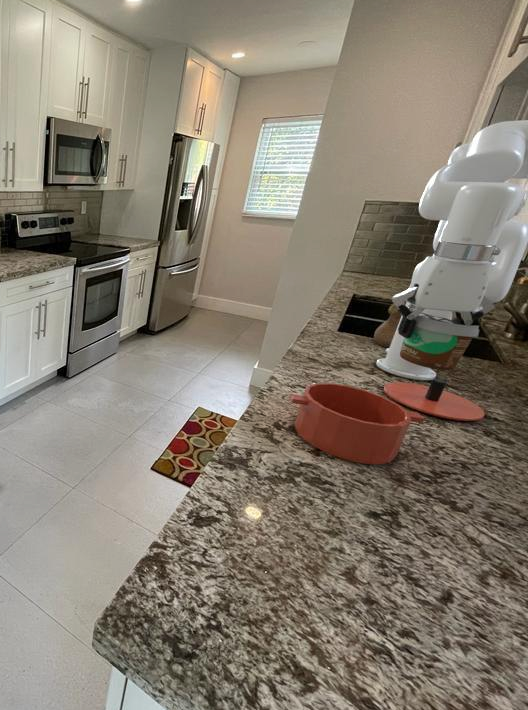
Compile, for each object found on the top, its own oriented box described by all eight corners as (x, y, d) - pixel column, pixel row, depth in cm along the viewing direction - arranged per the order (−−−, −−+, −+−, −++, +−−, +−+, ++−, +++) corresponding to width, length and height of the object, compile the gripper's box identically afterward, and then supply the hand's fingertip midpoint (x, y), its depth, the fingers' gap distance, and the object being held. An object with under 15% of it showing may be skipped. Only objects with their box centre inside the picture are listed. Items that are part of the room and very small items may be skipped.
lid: (369, 381, 109) (377, 360, 107) (451, 392, 104) (461, 370, 102) (405, 414, 94) (415, 391, 91) (504, 429, 89) (517, 405, 87)
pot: (271, 408, 95) (280, 376, 92) (385, 426, 89) (399, 392, 86) (293, 451, 80) (305, 413, 77) (431, 475, 74) (450, 436, 71)
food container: (376, 349, 92) (391, 307, 88) (402, 348, 92) (418, 306, 89) (432, 375, 81) (452, 327, 77) (461, 373, 81) (482, 326, 77)
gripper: (505, 252, 79) (466, 337, 86) (396, 246, 84) (368, 327, 90) (537, 259, 72) (493, 350, 79) (417, 252, 77) (385, 339, 84)
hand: (426, 337), depth 85 cm, fingers closed on food container, 7 cm apart
